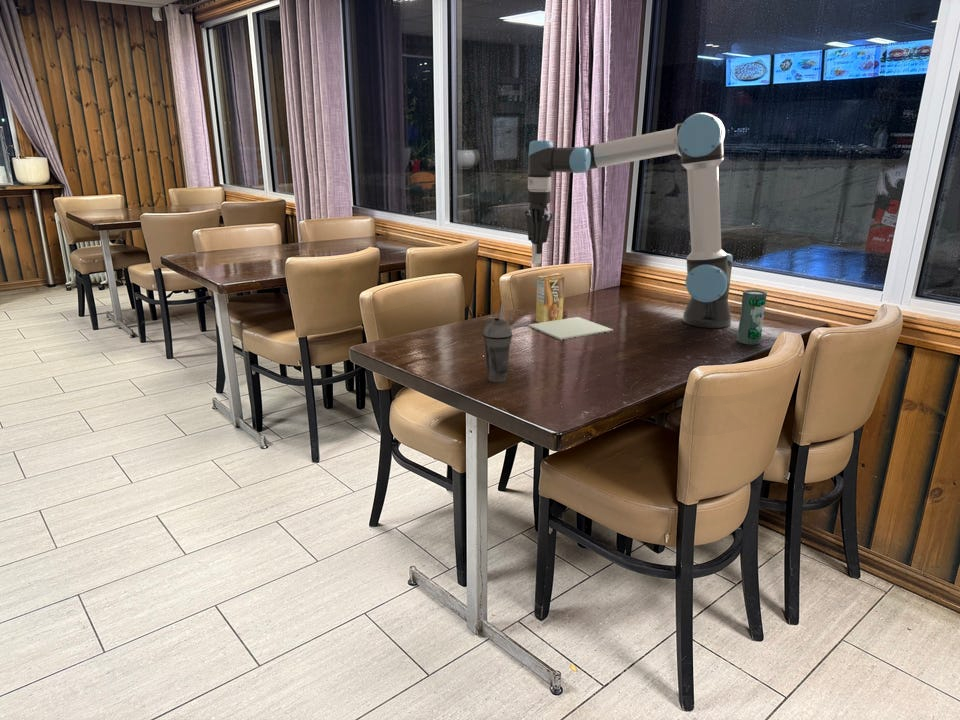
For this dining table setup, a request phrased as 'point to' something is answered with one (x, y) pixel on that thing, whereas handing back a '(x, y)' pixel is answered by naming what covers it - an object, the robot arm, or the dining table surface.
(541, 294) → the candy box
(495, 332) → the beverage cup
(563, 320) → the mat
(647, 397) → the dining table surface
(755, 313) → the can
